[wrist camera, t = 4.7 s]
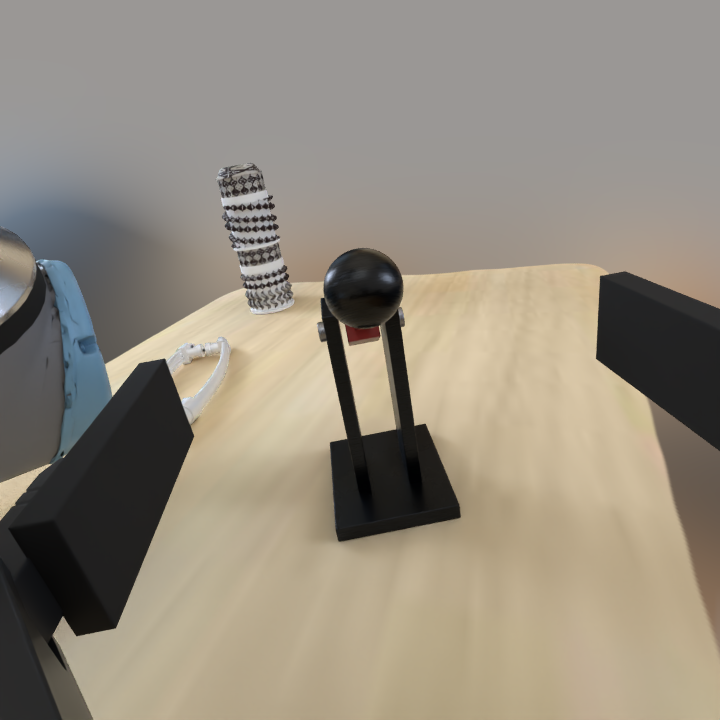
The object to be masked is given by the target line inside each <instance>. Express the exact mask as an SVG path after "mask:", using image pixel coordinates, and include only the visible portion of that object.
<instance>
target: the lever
mask: <svg viewBox="0 0 720 720" xmlns="http://www.w3.org/2000/svg"><path fill="white" fill-rule="evenodd" d="M324 297H325V301H326V304H327V306H328V308H329V310H330V311H331V313H332V314H333V315H334V316H335V317H336V318H337V319H338V320H339V321H340V322H342V323H344V324H345V327H346V332H347V337H348V343H349V346H352V345H357V344H362V343H367V342H373V341H378V340H379V338H380V331H379V325H381V324H383V323H385V322H386V321H388V320H389V319H390V318H391V317H392V316H393V315H394V314H395V312H396V311H397V309H398V308H399V306H400V303H401V301H402V297H403V280H402V276H401V274H400V271H399V269H398V268H397V266H396V264H395V263H394V262H393V261H392V260H391V259H390V258H389V257H388V256H386V255H385V254H383V253H381V252H380V251H377V250H374V249H369V248H358V249H353V250H350V251H347V252H346V253H344V254H342V255H341V256H339V257H338V258H337V259H336V260H335V261H334V262H333V263H332V264H331V266H330V267H329V269H328V271H327V273H326V276H325V280H324Z"/></svg>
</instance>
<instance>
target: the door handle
mask: <svg viewBox="0 0 720 720" xmlns="http://www.w3.org/2000/svg"><path fill="white" fill-rule="evenodd" d="M216 342H217V343H205V348H204V346H203V344H199V345H196V346H195V344H192V343H189V344H188V343H185V344H184V345H182V346H181V347H179V348H178V349H177V350H176V352H175V354H173V355H172V356H171V357H170V358H169V359H168V360H167V361H166V362H167V365H168V368H169V370H170V373H171V374H172V373H173V372H174V371H175V370H176V369H177V368H178V367H179V366H180V365H181V364H188V363H191V361H192V360H193V357H205V351H206V354H207V356H211V355H214V354H216V353H220V354H221V356H220V360H219V362H218V365H217V367H216V369H215V370H214V372H213V374H212V375H211V377H210V378H209V380H208V381H207V382H206V384H205V385H204V386H203V387H202V388H201V390H200V391H199V392H198V393H197V394H196V395H195V396H194V397H188V398H183V400H182V401H181V402H182V405H183V408H184V410H185V413H186V416H187V418H188V421H189V424H190V425H191V424H192V423H193V422H194V421H195V420H196V419H197V418H198V417H199V416H200V415H201V413H202V410H203V408H204V407H205V406H206V405H207V404H208V402H209V401H210V400H211V398H212V397H213V396H214V394H215V393H216V391H217V390H218V388H219V386H220V385H221V383H222V381H223V379H224V377H225V374H226V371H227V368H228V364H229V355H230V353H231V347H230V345H229V342H228V341H227V340H226V339H225V338H224V337H219V338H218V340H217V341H216Z"/></svg>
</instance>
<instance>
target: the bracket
mask: <svg viewBox="0 0 720 720" xmlns="http://www.w3.org/2000/svg"><path fill="white" fill-rule="evenodd" d="M321 312H322V321H323V322H319V323H317V327H318V332H319V337H320V341H321V342H326V341H327V345H328V350H329V354H330V359H331V364H332V368H333V373H334V378H335V383H336V387H337V392H338V397H339V401H340V406H341V411H342V416H343V420H344V425H345V430H346V434H347V439H345V440H340V441H334V442H330V451H331V466H332V482H333V497H334V512H335V527H336V533H337V537H338V541H344V540H349V539H354V538H359V537H364V536H369V535H374V534H379V533H385V532H390V531H395V530H400V529H405V528H410V527H415V526H420V525H425V524H430V523H435V522H440V521H445V520H450V519H455V518H460V517H461V516H460V506H459V503H458V500H457V498H456V496H455V493H454V491H453V488H452V486H451V484H450V481H449V479H448V476H447V474H446V472H445V469H444V467H443V464H442V462H441V460H440V457H439V455H438V452H437V450H436V448H435V445H434V443H433V440H432V438H431V436H430V433H429V431H428V428H427V426H426V424H422V425H417V426H414V419H413V411H412V404H411V397H410V390H409V382H408V375H407V368H406V361H405V354H404V346H403V339H402V332H401V327H404V326H405V321H404V315H403V311H402V308H401V307H399V308H398V309H397V311H396V312H395V314H394V315H393V316H392V317H391V318H390V319H389V320H388V321H386V322H385V323H383V324H381V325H380V327H381V334H382V340H383V346H384V353H385V359H386V365H387V372H388V378H389V384H390V391H391V397H392V403H393V410H394V416H395V422H396V430H391V431H386V432H381V433H375V434H370V435H365V436H361V431H360V426H359V421H358V416H357V411H356V406H355V401H354V396H353V390H352V385H351V380H350V375H349V370H348V365H347V360H346V355H345V350H344V345H343V340H342V334H341V329H340V324H339V320H338V319H337V318H336V317H335V316H334V315H333V314H332V313H331V311H330V310H329V308H328V306H327V304H326V301H325V298H321Z"/></svg>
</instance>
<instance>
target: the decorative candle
mask: <svg viewBox="0 0 720 720" xmlns="http://www.w3.org/2000/svg"><path fill="white" fill-rule="evenodd" d="M216 180H217V182H218V184H219V189H220V192H221V195H222V198H221V200H222V204H223V207H224V209H225V210H226V212H225V213H224V214H223V216H222V218H223V219H224V220H225V221H227V223H226V224H225V227H226V229H227V230H231V231H232V233H231V234H230V236H229V239H230V240H231V241H232V242H233V244H232V246H231V247H233V250H235V251H237V253H238V258H239V261H240V269H241V273H242V275H241V278H242V280H245V283H244V284H243V286H244V288H246V289H247V291H246V294H245V295H246V297H247V298H248V299H249V300H248V305H249V306H250V307H251V309H250V311H251V312H252V313H253V314H269V313H275V312H278V311H282V310H284V309H286V308H289V307H290V306H292V305H293V304H294V302H295V301H294V299H293V298H292V295H293V292H292V291H291V290H290V289H291V286H292V285H291V284H290V283H289V282H288V281H286V280H288V277H289V275H288V274H287V273H285V272H286V270H287V266H285V265H284V261H283V257H282V256H281V252H280V248H279V244H278V242H279V241H280V238H279V236H277V235H276V234H275V230H276V229H278V228H279V227H278V225H276V224H273V221H275V220H276V219H277V217H276V216H274V215H272V214H271V213H270V210H271V209H273V208H274V207H275V205H274V204H272V203H271V202H270V203H269V204H268V201H269V200H271V199H272V197H273V196H269V195H268V193H267V189H265V184H264V180H263V176H262V172H261V171H260V170H259V169H258V168H257V167H256V166H255V165H254V164H252V163H248V164H243V165H237V166H231V167H226V168H222V169H221V170H220V171H219V174H218V178H217V179H216Z"/></svg>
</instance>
